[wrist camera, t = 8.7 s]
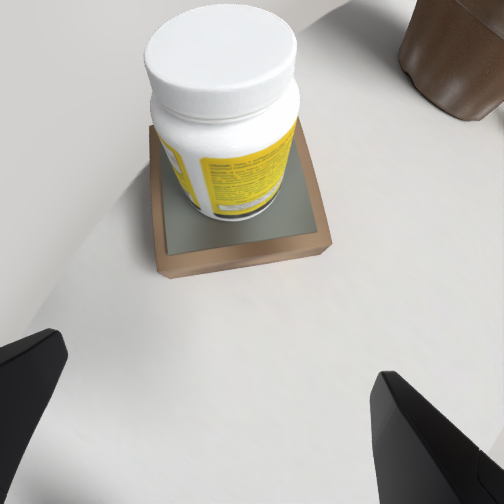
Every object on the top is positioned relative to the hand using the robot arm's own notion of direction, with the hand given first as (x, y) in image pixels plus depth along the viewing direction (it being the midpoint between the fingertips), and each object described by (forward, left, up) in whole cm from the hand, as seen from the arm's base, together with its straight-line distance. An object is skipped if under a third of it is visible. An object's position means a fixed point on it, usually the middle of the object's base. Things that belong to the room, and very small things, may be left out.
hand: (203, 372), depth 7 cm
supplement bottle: (+2, +9, -9) cm, 13 cm away
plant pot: (+27, +21, -12) cm, 36 cm away
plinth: (+2, +9, -12) cm, 15 cm away
